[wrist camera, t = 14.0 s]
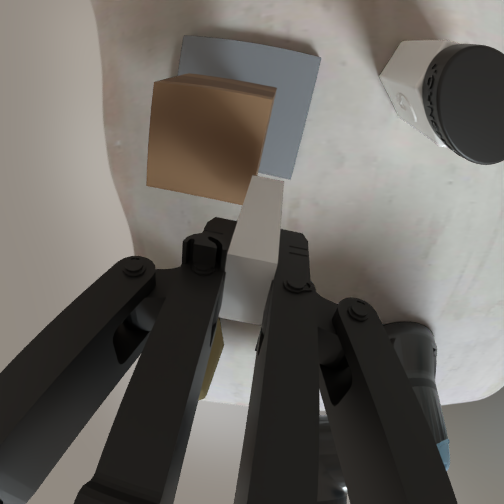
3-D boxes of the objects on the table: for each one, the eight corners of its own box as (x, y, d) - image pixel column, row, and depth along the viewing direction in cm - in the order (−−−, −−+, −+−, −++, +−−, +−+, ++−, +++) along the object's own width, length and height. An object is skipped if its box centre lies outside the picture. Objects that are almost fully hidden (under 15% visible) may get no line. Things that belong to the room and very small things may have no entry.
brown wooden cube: (259, 168, 22) (249, 206, 17) (178, 152, 22) (146, 185, 17) (277, 87, 19) (272, 99, 14) (188, 73, 18) (154, 82, 14)
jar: (364, 56, 23) (412, 60, 13) (434, 28, 20) (506, 27, 10) (405, 138, 27) (460, 189, 17) (468, 109, 24) (540, 148, 14)
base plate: (290, 173, 31) (290, 179, 30) (174, 151, 31) (169, 155, 29) (319, 57, 24) (321, 57, 22) (188, 35, 23) (183, 35, 22)
